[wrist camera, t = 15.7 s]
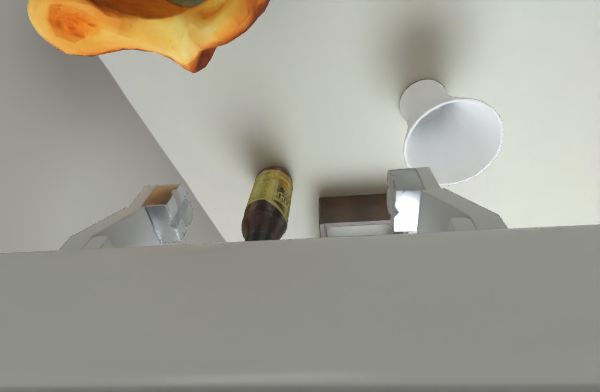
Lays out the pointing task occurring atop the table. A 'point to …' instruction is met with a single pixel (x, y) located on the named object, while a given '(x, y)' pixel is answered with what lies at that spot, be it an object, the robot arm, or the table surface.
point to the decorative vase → (144, 26)
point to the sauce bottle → (268, 206)
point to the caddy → (353, 212)
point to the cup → (449, 132)
